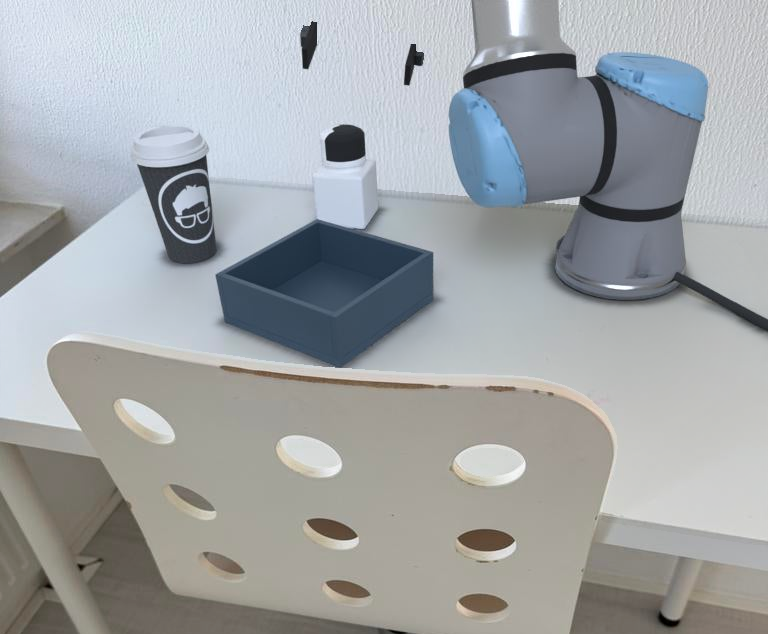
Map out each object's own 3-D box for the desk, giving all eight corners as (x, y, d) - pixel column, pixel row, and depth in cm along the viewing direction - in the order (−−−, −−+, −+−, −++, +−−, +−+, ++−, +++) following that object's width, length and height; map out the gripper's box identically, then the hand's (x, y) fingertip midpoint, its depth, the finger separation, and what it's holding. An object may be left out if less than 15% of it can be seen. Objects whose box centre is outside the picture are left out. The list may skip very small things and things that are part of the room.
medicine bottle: (378, 209, 112) (374, 121, 103) (364, 230, 107) (359, 139, 99) (332, 206, 113) (324, 119, 105) (316, 226, 108) (307, 136, 100)
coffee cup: (235, 237, 107) (214, 121, 96) (218, 269, 100) (193, 148, 90) (169, 237, 108) (141, 122, 97) (147, 268, 101) (115, 149, 91)
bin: (433, 299, 92) (433, 251, 88) (340, 367, 82) (335, 317, 78) (321, 264, 100) (316, 218, 96) (224, 322, 90) (214, 274, 86)
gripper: (467, 15, 112) (446, 108, 103) (301, -11, 113) (265, 79, 104) (475, -41, 105) (453, 54, 96) (298, -68, 106) (259, 23, 97)
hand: (355, 67), depth 100 cm, fingers open, 13 cm apart
